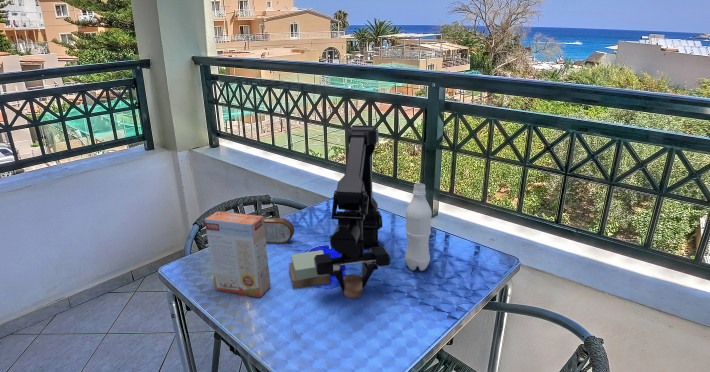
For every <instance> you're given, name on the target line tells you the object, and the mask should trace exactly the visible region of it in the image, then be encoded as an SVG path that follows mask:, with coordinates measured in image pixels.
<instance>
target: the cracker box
mask: <svg viewBox="0 0 710 372" xmlns="http://www.w3.org/2000/svg"><path fill="white" fill-rule="evenodd" d="M263 218H264V216H263V215H255V214H247V213H237V212H227V211H221V210H218V211H215V212H214V213H213V214H211V215H209V216H207V217H206V218H204V223H205V224H204V225H205V232H206V238H207V243H208V245H207V246H208V250H209V258H210V263H211V264H210V266H211V269H212V270H211V272H212V276H213V277H212V278H213V284H214V289H215V290H217V291H221V292H222V291H223V292H227V293H233V294H238V295H242V296H243V295H244V296H249V297H253V298H261V297H262V296H263V295H264V294H265V293H267V291H268V290H269V289H270V288H271V279H270V268H269V258H268V251H267V250H268V248H267V243H266V238H265V229H264V219H263Z"/></svg>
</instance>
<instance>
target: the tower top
mask: <svg viewBox="0 0 710 372" xmlns="http://www.w3.org/2000/svg"><path fill="white" fill-rule="evenodd" d="M321 254H325V253H324V250H323V249H320V250H315V251H314V250H313V251H307V252H301V253H294V254H290V258H291V259H290V260H291V263H292V267H293V270H294V274H295V278H296V280H301V279H307V278H313V277H319V276H325V275H330V274H324V275H318V274H317V271H316V268H315V265H314V257H315V256H316V255H321Z"/></svg>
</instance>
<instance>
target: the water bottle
mask: <svg viewBox="0 0 710 372" xmlns="http://www.w3.org/2000/svg"><path fill="white" fill-rule="evenodd" d="M412 194H413V196H412V199H411V200H410V202H409V204H408V206H407V208H406V210H405V234H406V251H405V254H404V261H405V264H406V266H407V267H408V269H409V270H410V271H415V270H416V269H417V267H418V269H419V271H421V272H423V271H425V270H427V267H428V266H429V263H430V262H431V255H430V247H429V242H430V241H429V240H430V236H431V234H432V231H431V230H432V215H433V214H432V213H433V211H432V209H431V207H430V204H429V202H428V201H427V198H426V195H427V191H426V185H425V184H424V183H421V182H420V183H415V184H414V185H413V190H412Z"/></svg>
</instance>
